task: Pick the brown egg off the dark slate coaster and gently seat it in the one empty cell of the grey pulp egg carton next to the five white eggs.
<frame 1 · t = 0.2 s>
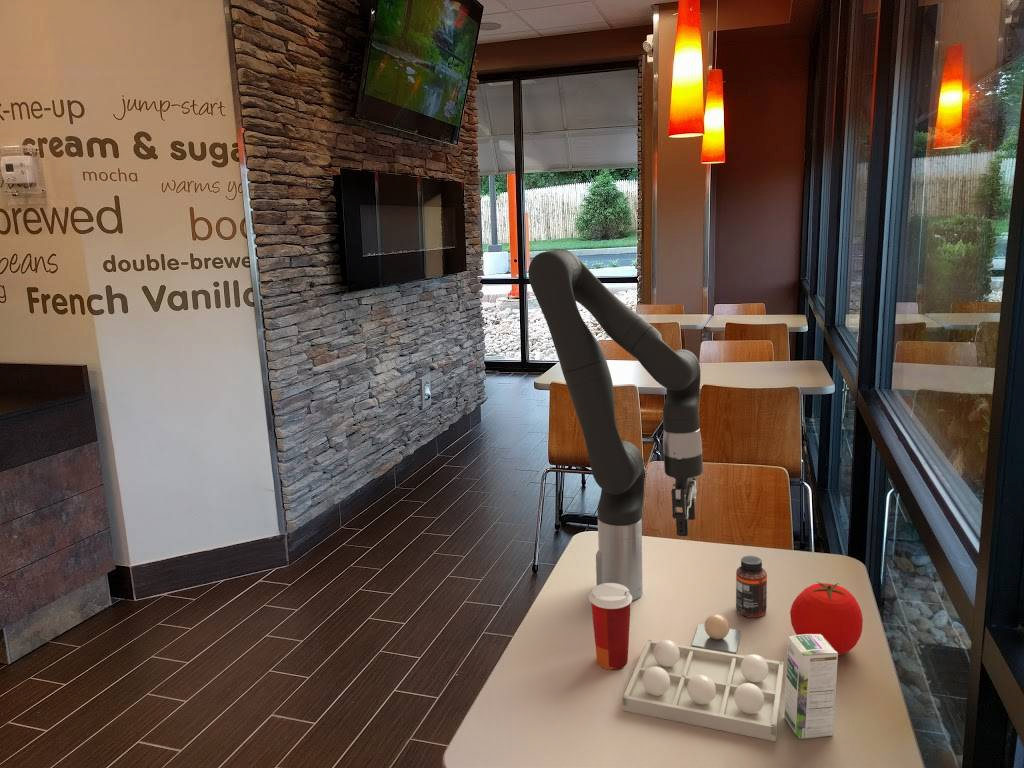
hand: (686, 527, 157), 17 cm above the table, tool pointing down, fingers open, 8 cm apart
paper cup: (611, 662, 142), on the table
slate coaster: (716, 640, 147), on the table
white egg front middle: (701, 689, 127), point 3 cm above the table, touching carton
white egg back right: (754, 668, 132), point 3 cm above the table, touching carton
white egg back left: (666, 653, 137), point 3 cm above the table, touching carton
syrup box: (808, 727, 122), on the table
brown egg: (716, 626, 146), point 3 cm above the table, touching slate coaster
tomato: (824, 649, 142), on the table
carton: (705, 691, 131), on the table
supplement bottle: (750, 612, 157), on the table
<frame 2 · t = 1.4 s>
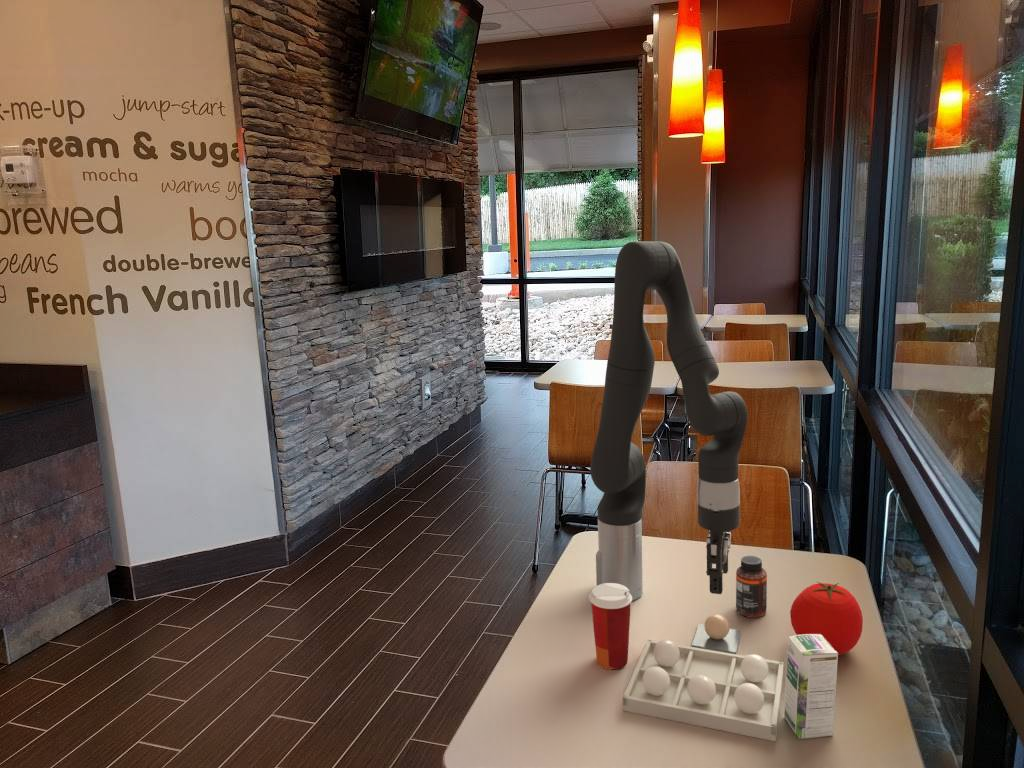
hand: (719, 582, 144), 12 cm above the table, tool pointing down, fingers open, 8 cm apart
nothing on the table moved.
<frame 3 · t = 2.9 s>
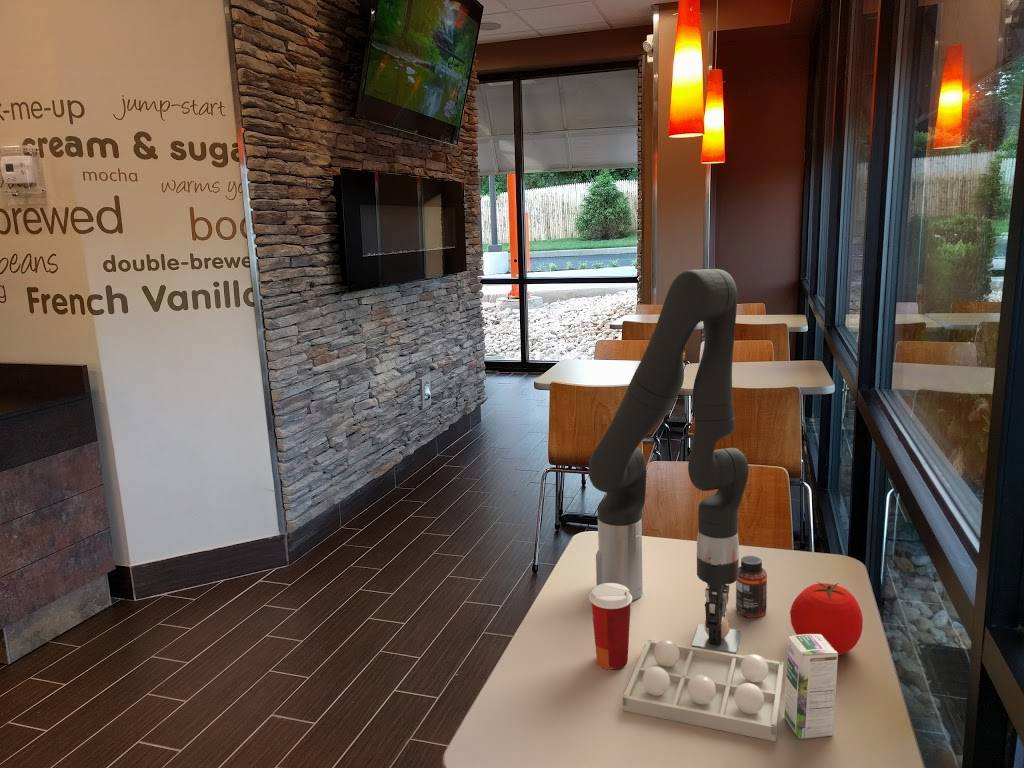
hand: (716, 636, 147), 1 cm above the table, tool pointing down, fingers closed on brown egg, 4 cm apart
brown egg: (716, 626, 146), point 3 cm above the table, touching gripper, slate coaster
everything else where it was.
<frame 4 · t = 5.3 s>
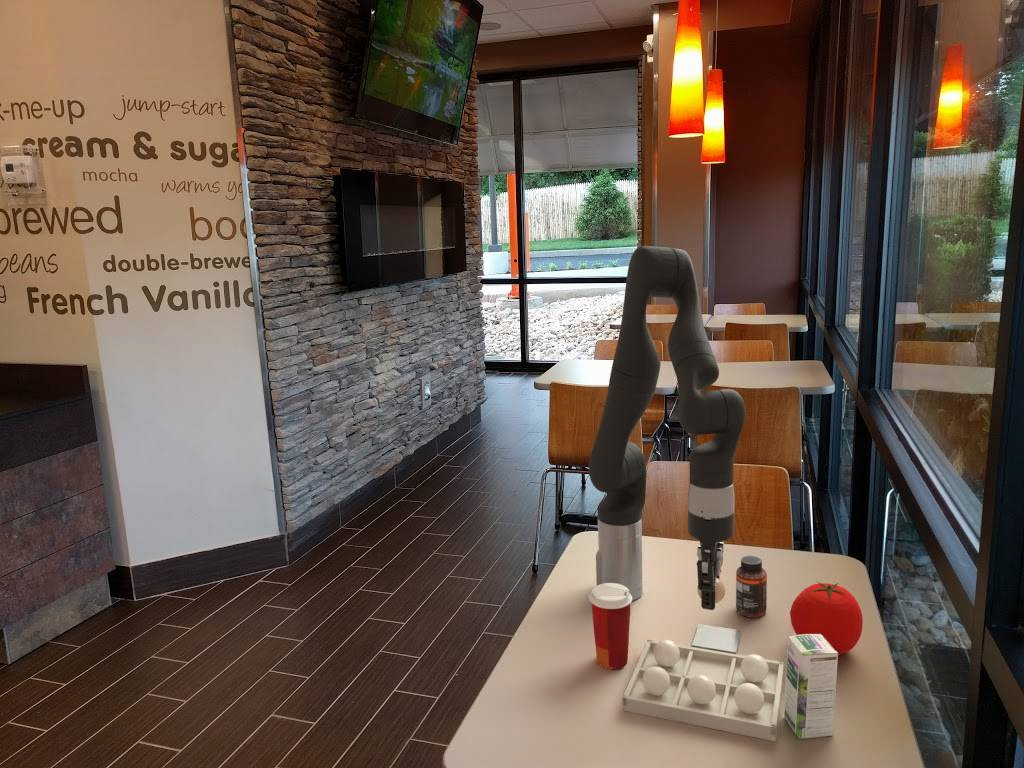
hand: (710, 600, 132), 15 cm above the table, tool pointing down, fingers closed on brown egg, 4 cm apart
brown egg: (711, 589, 132), point 17 cm above the table, touching gripper
everything else where it was.
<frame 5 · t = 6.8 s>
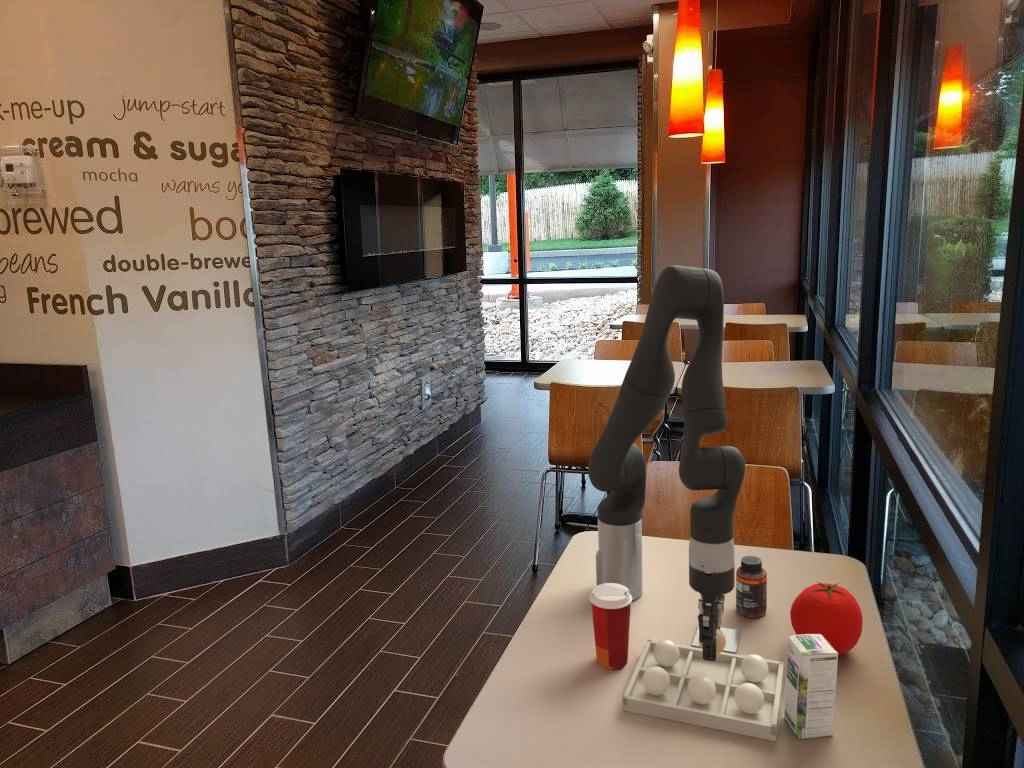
hand: (711, 651, 134), 5 cm above the table, tool pointing down, fingers closed on brown egg, 4 cm apart
brown egg: (712, 640, 134), point 7 cm above the table, touching gripper
everything else where it was.
when the fingers open (2 cm above the table, at t = 7.8 s): brown egg drops 1 cm, resting on carton.
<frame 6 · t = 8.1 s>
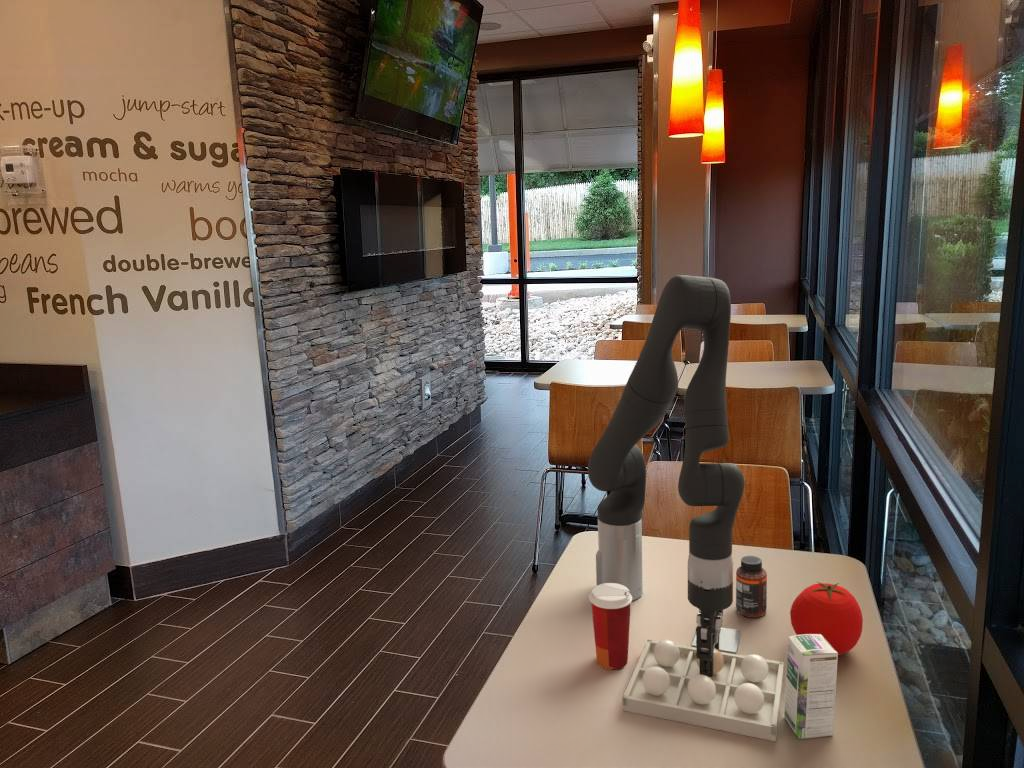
hand: (709, 663, 135), 3 cm above the table, tool pointing down, fingers open, 6 cm apart
brown egg: (710, 660, 135), point 3 cm above the table, touching carton
everything else where it was.
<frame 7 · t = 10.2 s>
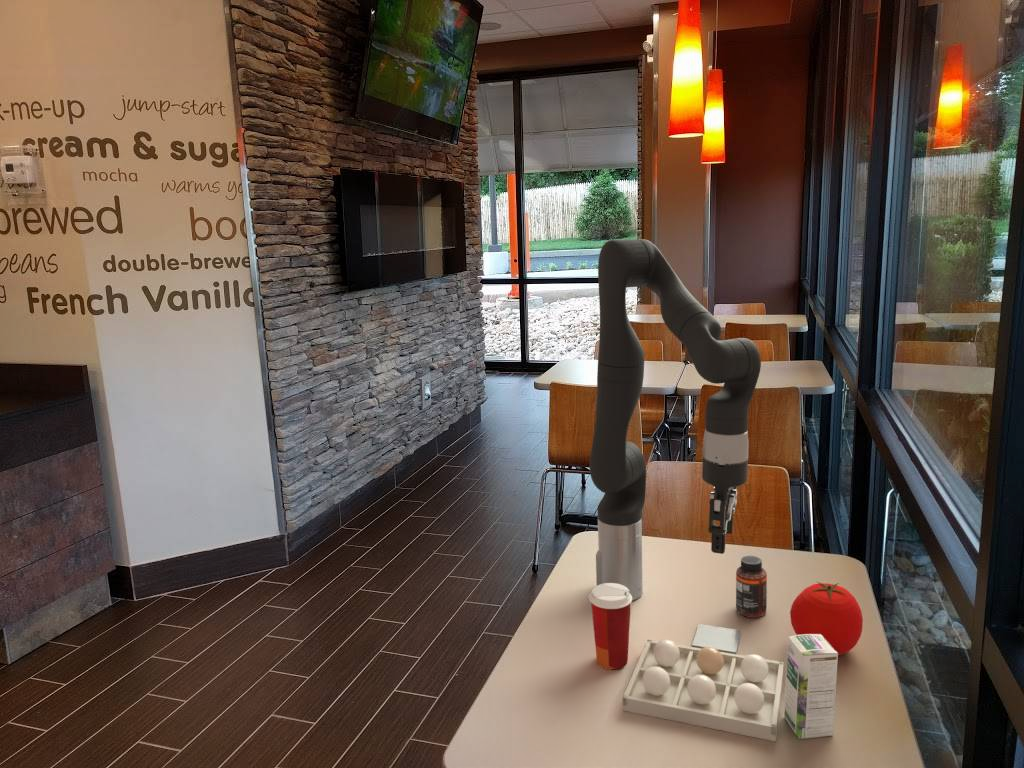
hand: (722, 542, 136), 23 cm above the table, tool pointing down, fingers open, 8 cm apart
nothing on the table moved.
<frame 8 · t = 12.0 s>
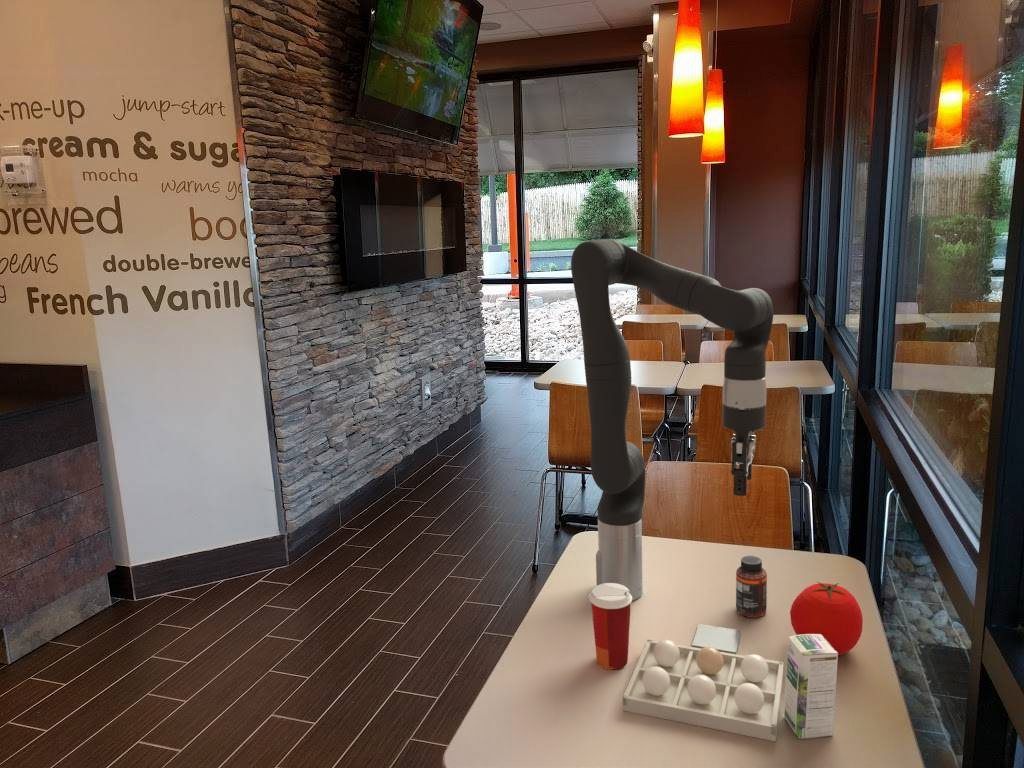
hand: (742, 486, 142), 30 cm above the table, tool pointing down, fingers open, 8 cm apart
nothing on the table moved.
at the end: brown egg 0.1 cm from the target spot on the carton, point 3.3 cm above the carton's base; the gripper is holding nothing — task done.
